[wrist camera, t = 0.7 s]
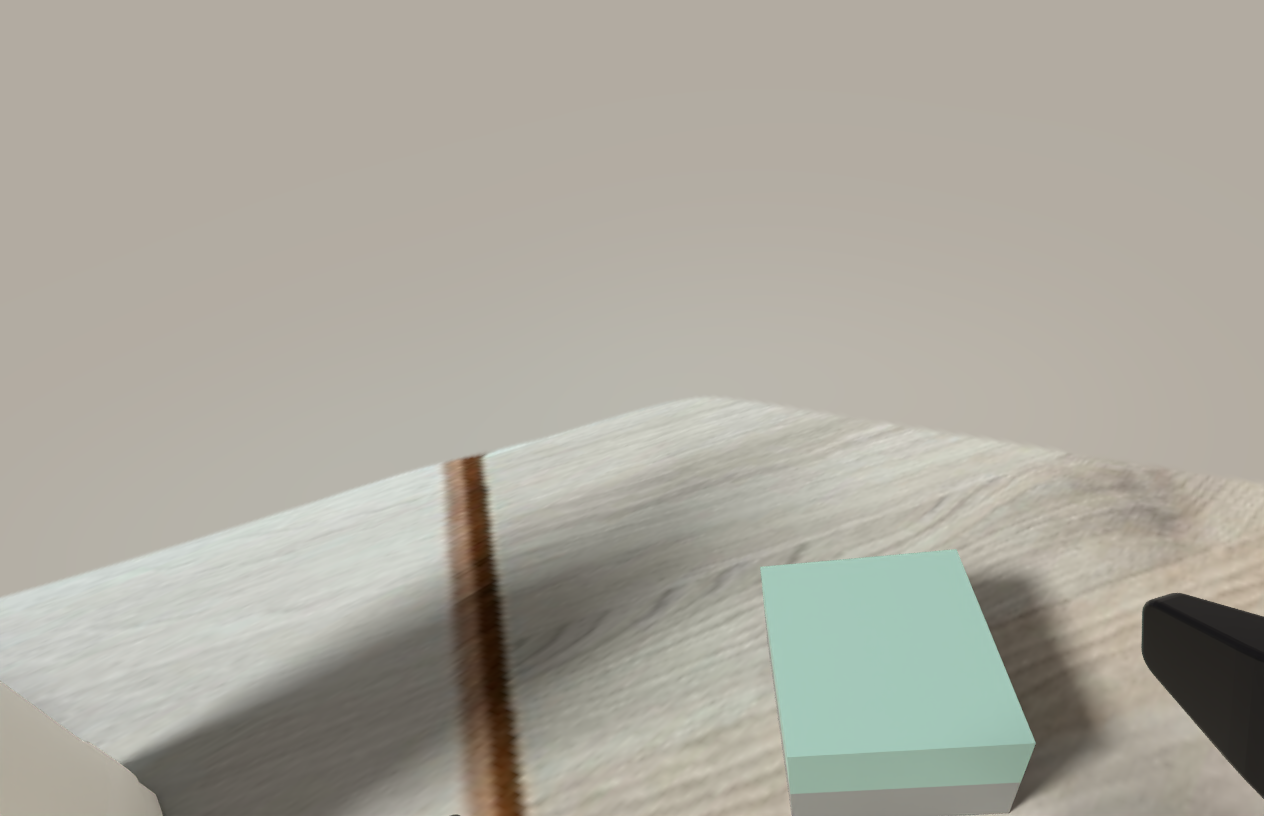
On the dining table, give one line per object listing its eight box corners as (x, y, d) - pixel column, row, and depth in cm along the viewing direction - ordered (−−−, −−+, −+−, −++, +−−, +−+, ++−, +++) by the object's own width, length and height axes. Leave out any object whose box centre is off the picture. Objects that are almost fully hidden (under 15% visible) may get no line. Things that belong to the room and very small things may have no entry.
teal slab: (1020, 782, 21) (1035, 743, 19) (790, 794, 21) (787, 757, 20) (948, 592, 26) (956, 549, 24) (764, 607, 26) (760, 566, 25)
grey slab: (1007, 816, 22) (1020, 782, 21) (793, 825, 23) (790, 793, 21) (942, 630, 27) (949, 592, 26) (767, 644, 28) (764, 607, 26)
